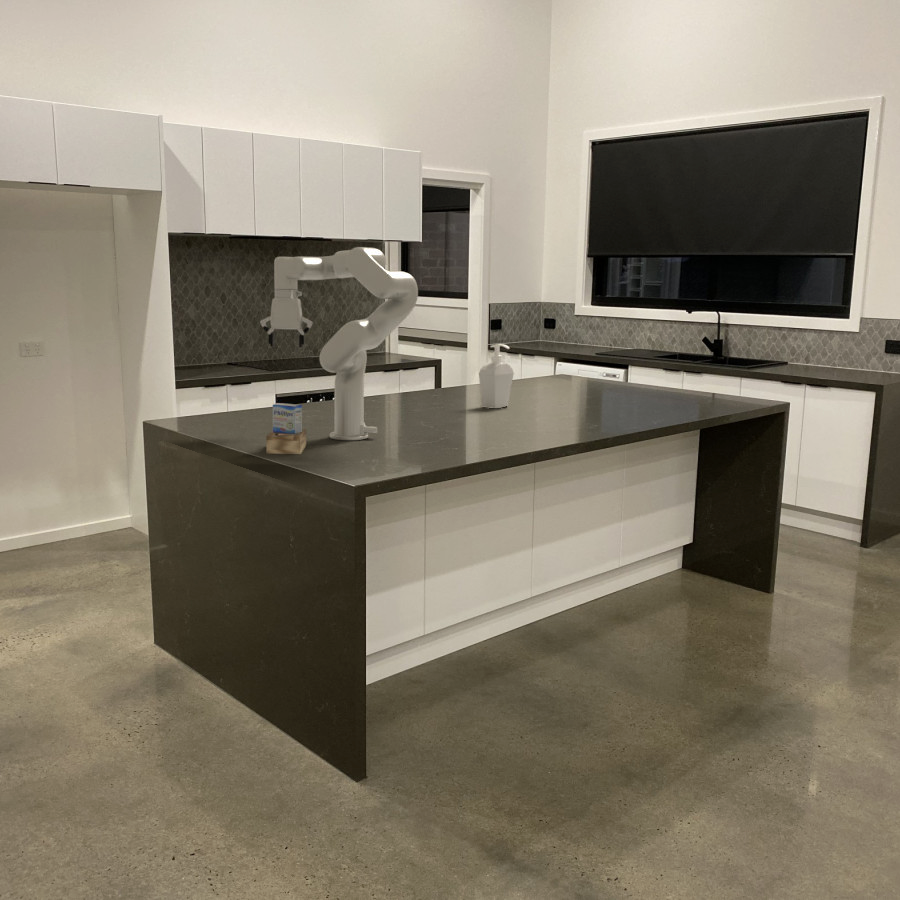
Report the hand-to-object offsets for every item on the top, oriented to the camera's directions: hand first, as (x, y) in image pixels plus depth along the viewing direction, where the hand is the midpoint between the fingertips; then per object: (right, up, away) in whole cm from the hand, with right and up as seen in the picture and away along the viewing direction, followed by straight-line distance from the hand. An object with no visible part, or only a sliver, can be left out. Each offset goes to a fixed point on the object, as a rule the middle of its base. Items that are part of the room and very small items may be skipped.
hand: (286, 346), depth 304 cm
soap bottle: (+74, -18, +66) cm, 101 cm away
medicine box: (+5, -30, -28) cm, 41 cm away
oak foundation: (+5, -35, -28) cm, 45 cm away
